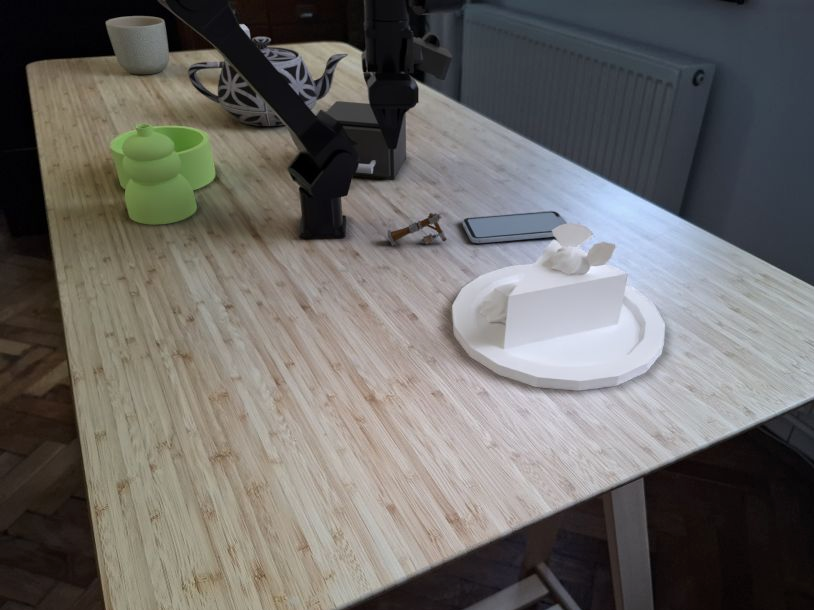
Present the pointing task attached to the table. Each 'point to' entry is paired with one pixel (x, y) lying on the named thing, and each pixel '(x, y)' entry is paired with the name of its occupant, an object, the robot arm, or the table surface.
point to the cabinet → (365, 117)
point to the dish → (560, 318)
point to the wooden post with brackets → (415, 227)
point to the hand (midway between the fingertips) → (389, 137)
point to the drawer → (370, 150)
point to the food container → (162, 171)
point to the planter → (139, 43)
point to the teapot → (246, 102)
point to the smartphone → (512, 226)
